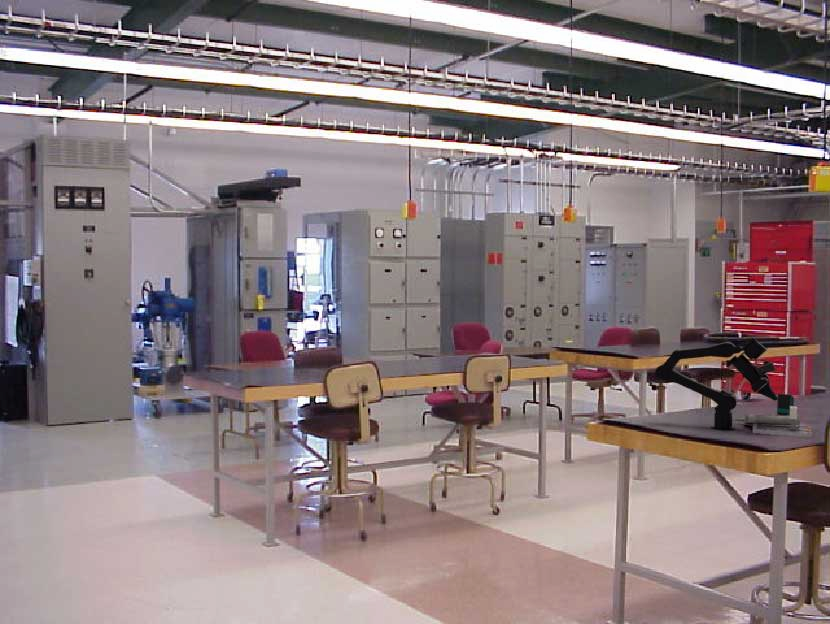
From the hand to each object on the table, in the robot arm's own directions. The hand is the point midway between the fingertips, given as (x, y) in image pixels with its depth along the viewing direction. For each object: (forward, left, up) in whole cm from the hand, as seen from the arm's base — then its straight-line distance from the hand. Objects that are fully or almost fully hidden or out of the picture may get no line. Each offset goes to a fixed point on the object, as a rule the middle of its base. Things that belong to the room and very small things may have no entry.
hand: (776, 399), depth 320 cm
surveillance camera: (+26, +13, -13) cm, 32 cm away
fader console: (+1, -2, -13) cm, 13 cm away
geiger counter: (+11, +14, -11) cm, 21 cm away
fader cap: (+3, -5, -11) cm, 12 cm away
